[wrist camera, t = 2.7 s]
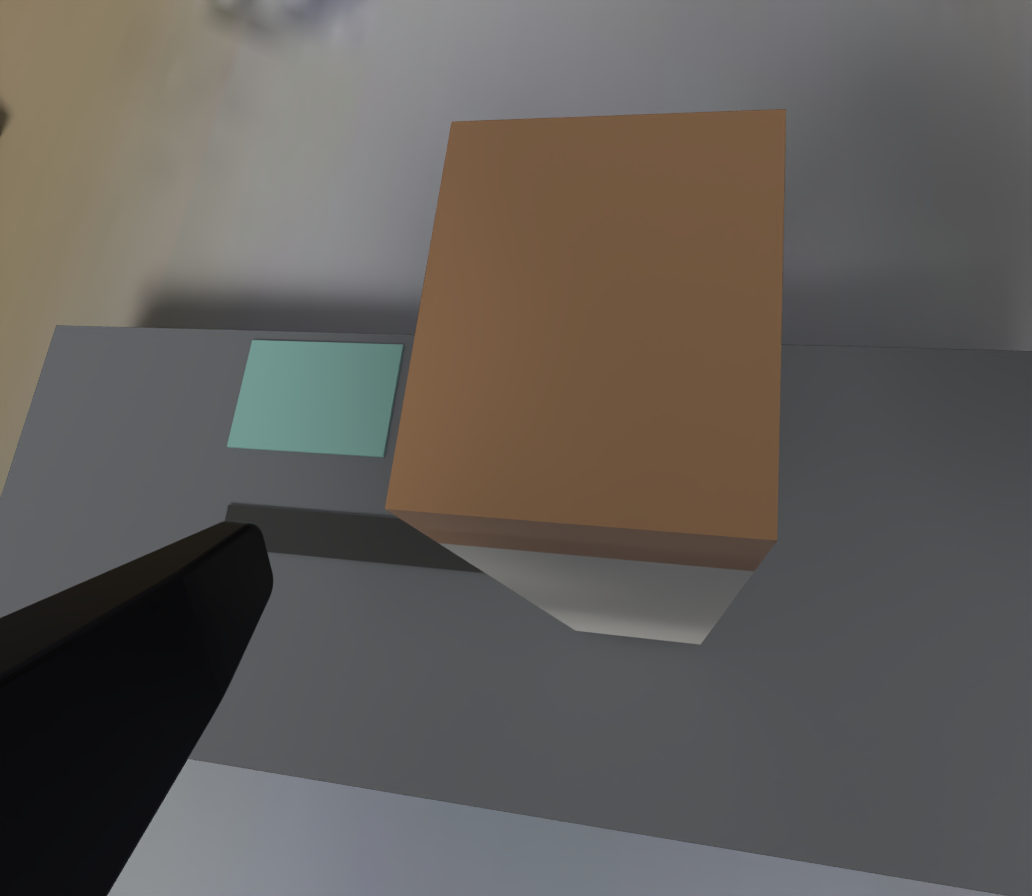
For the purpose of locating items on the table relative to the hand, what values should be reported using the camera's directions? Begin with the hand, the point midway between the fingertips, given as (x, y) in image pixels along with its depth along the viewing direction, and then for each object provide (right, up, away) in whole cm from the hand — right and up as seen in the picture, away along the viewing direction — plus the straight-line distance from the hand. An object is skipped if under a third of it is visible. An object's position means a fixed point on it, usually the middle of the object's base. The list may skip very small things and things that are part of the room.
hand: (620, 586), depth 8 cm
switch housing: (-2, -1, +10) cm, 10 cm away
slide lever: (+1, -1, +7) cm, 7 cm away
